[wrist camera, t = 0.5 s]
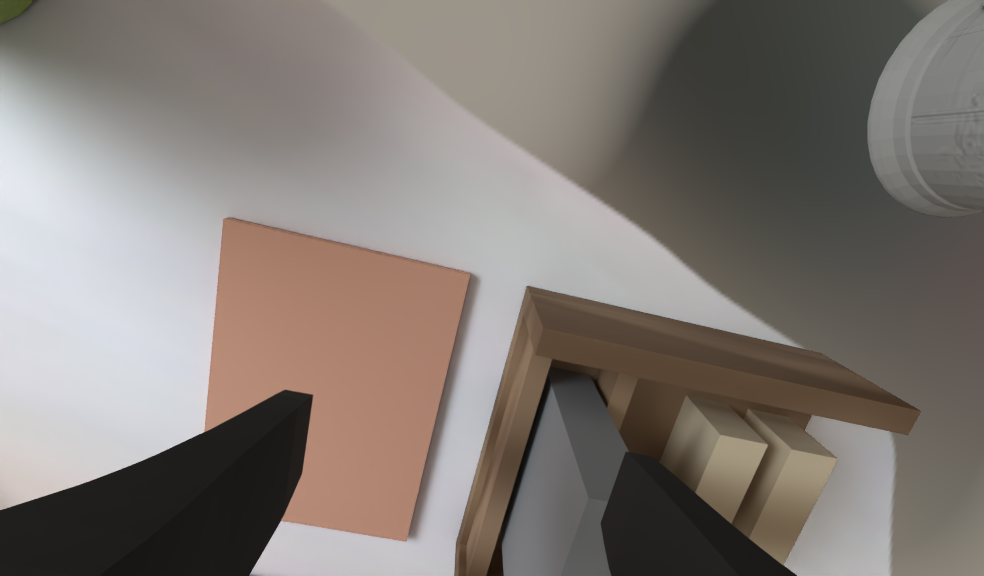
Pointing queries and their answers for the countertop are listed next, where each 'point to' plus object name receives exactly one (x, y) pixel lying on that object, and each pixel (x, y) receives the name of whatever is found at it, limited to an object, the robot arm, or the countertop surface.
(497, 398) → the walnut rack
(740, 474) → the birch offcut
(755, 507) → the birch offcut
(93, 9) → the countertop surface
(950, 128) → the glass holder
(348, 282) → the terracotta mat
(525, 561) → the gray block
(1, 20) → the plant pot
